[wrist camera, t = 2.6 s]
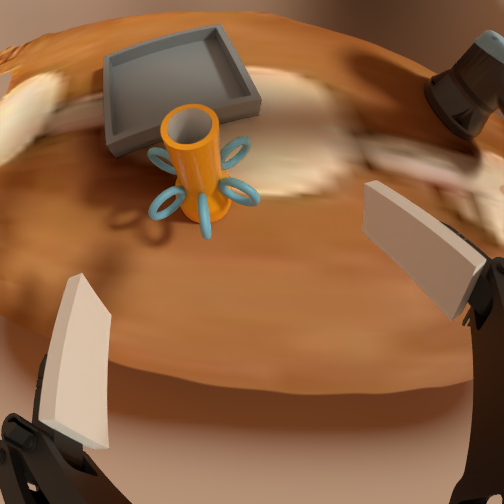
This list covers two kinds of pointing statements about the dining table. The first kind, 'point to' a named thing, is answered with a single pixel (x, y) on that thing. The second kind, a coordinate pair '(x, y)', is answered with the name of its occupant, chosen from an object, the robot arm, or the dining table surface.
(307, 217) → the dining table surface
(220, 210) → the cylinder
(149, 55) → the tray
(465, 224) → the dining table surface
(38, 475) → the robot arm
